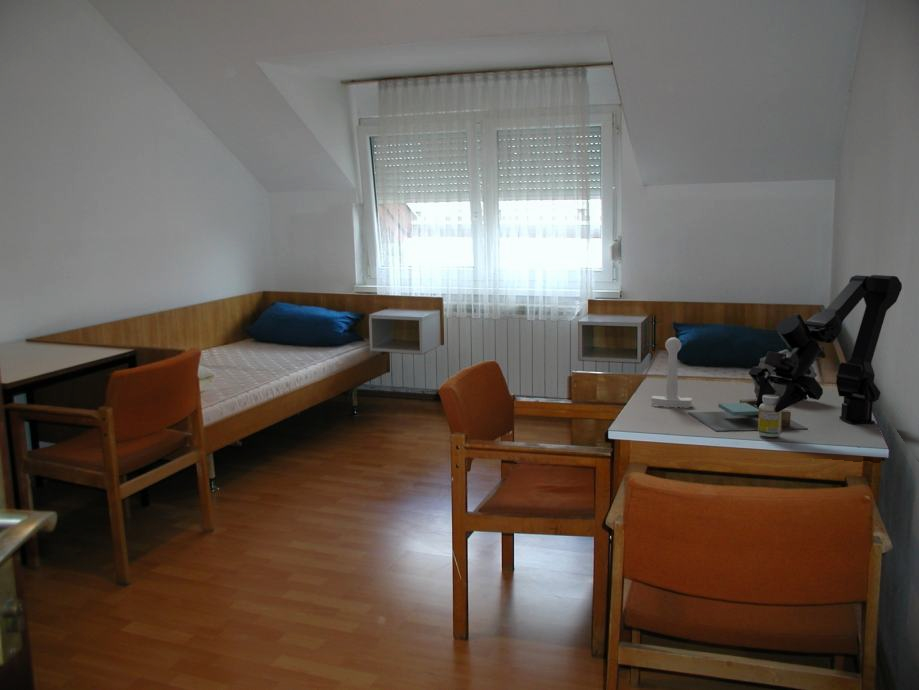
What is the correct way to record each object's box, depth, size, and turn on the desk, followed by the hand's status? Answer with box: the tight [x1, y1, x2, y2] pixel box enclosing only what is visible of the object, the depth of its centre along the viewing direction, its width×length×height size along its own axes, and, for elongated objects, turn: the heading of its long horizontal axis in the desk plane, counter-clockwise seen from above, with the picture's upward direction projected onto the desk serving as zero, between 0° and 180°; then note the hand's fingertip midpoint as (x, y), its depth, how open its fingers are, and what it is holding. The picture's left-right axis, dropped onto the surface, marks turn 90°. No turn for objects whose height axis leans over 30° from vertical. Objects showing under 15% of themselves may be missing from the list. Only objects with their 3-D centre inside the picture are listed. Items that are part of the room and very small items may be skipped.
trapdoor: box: [718, 402, 759, 416], centre depth 213 cm, size 14×10×3 cm
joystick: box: [650, 336, 693, 409], centre depth 232 cm, size 11×8×20 cm
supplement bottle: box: [757, 395, 782, 438], centre depth 197 cm, size 5×5×10 cm
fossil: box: [753, 349, 818, 398], centre depth 240 cm, size 17×7×15 cm, turn 69°
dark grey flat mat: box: [688, 398, 808, 433], centre depth 213 cm, size 24×20×4 cm
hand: (766, 408), depth 196 cm, fingers closed on supplement bottle, 5 cm apart
